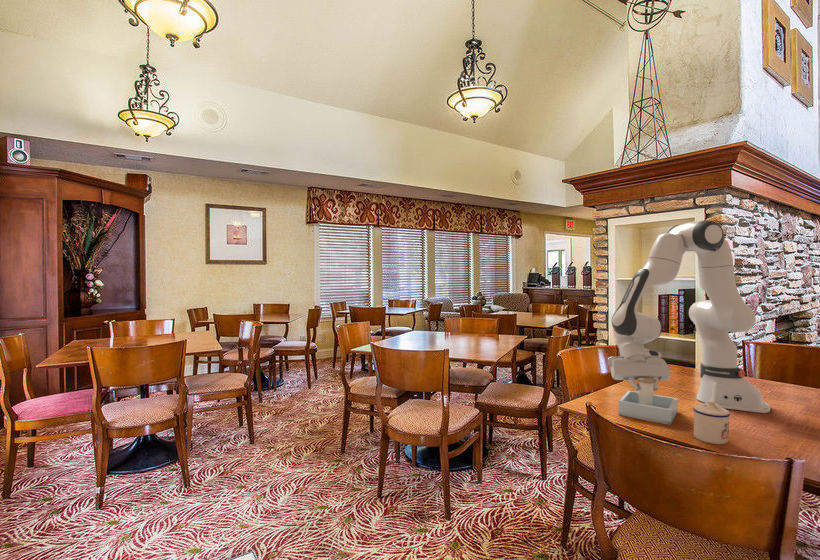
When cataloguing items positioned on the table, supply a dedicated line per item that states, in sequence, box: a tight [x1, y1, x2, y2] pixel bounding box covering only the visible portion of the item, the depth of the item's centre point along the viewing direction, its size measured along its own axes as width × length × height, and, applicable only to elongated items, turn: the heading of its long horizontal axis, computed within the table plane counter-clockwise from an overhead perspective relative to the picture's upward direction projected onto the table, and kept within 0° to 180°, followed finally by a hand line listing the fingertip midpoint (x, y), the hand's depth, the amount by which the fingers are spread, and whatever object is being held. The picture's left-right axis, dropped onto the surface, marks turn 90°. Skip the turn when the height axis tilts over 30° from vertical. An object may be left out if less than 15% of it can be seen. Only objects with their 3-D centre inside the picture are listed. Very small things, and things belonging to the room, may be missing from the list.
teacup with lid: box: [693, 400, 731, 445], centre depth 130 cm, size 12×9×12 cm
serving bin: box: [617, 390, 678, 426], centre depth 151 cm, size 16×16×5 cm
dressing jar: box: [637, 377, 654, 406], centre depth 153 cm, size 5×5×10 cm
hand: (646, 389), depth 152 cm, fingers closed on dressing jar, 5 cm apart
